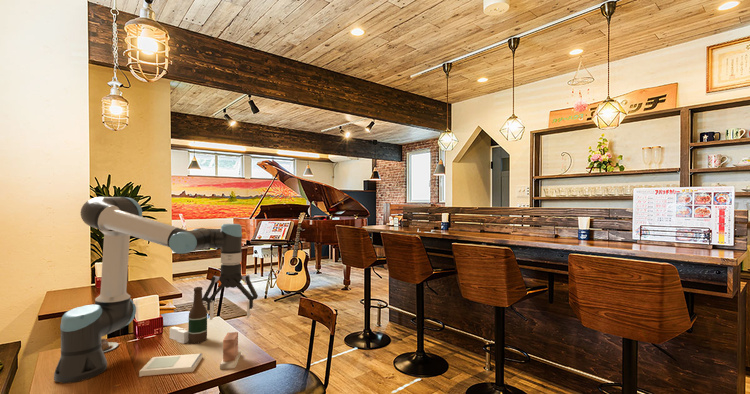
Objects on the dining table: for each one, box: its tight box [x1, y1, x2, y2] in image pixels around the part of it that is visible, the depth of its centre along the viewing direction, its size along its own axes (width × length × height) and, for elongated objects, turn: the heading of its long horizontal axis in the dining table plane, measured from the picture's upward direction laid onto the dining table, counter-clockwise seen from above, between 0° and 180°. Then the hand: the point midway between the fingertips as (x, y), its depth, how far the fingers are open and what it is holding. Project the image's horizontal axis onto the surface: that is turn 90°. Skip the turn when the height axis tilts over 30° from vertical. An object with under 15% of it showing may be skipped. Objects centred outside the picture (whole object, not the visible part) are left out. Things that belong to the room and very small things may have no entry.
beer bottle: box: [187, 286, 208, 345], centre depth 165 cm, size 8×8×24 cm
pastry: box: [101, 338, 119, 354], centre depth 156 cm, size 12×12×5 cm
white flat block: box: [138, 352, 203, 378], centre depth 139 cm, size 18×12×2 cm, turn 101°
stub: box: [219, 331, 242, 370], centre depth 143 cm, size 5×12×10 cm, turn 11°
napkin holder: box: [169, 325, 189, 344], centre depth 165 cm, size 15×11×6 cm
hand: (230, 317), depth 143 cm, fingers open, 13 cm apart
